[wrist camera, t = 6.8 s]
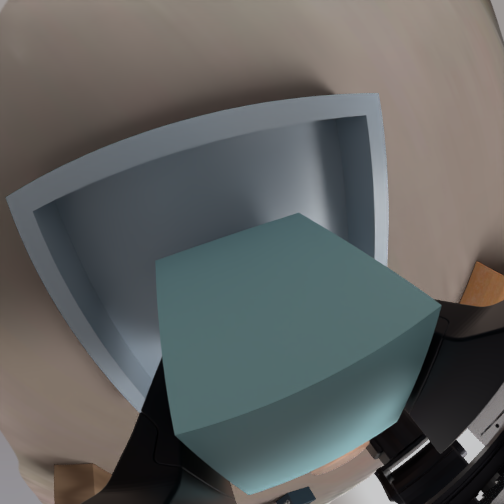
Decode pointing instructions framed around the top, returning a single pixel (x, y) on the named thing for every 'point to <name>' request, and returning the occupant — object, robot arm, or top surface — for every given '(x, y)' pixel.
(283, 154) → the tray
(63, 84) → the top surface
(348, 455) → the terracotta cylinder
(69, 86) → the top surface
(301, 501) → the watch
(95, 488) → the walnut cube
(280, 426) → the teal block
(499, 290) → the arch
